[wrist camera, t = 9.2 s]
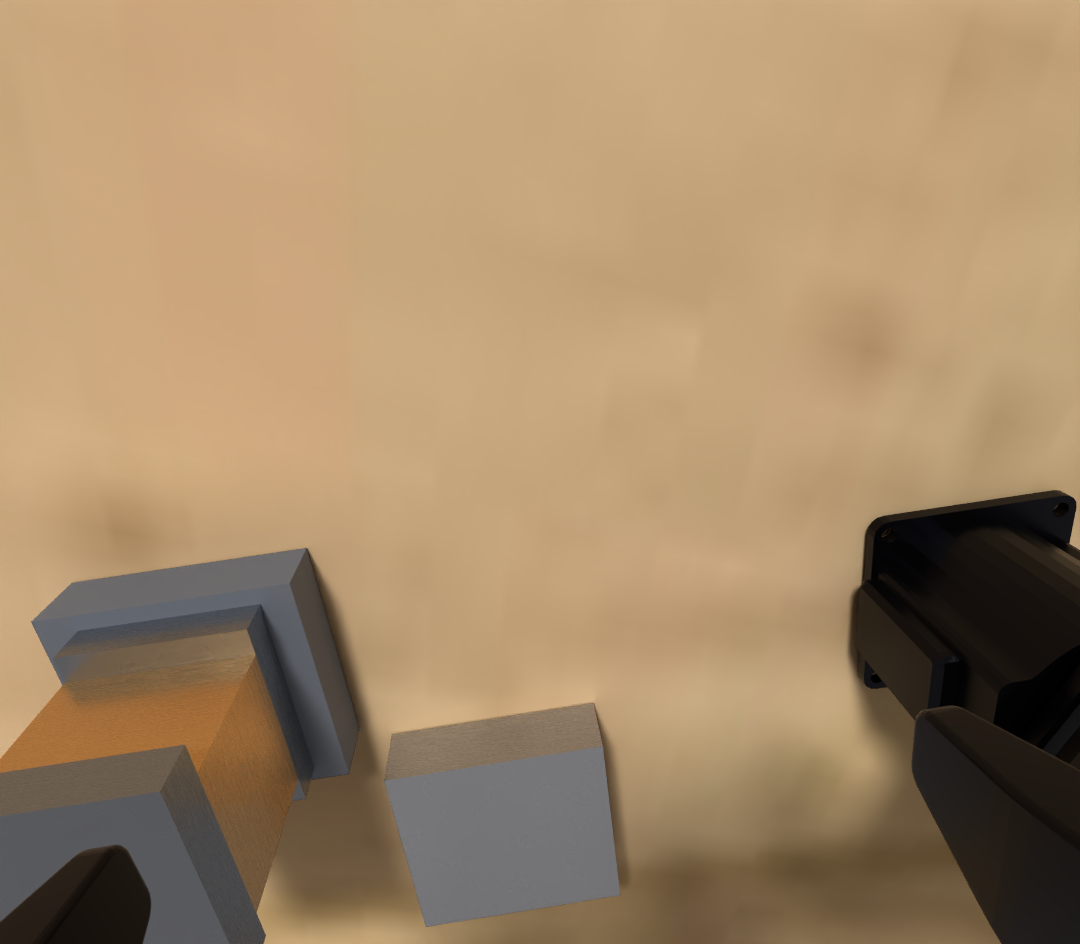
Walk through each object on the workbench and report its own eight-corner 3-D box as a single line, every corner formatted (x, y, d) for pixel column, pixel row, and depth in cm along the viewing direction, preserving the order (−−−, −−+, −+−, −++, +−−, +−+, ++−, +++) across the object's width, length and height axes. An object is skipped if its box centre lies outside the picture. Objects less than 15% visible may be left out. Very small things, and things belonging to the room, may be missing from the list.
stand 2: (593, 703, 24) (602, 746, 22) (610, 845, 26) (620, 894, 24) (391, 734, 23) (383, 780, 22) (429, 875, 26) (425, 926, 24)
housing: (314, 766, 21) (250, 989, 15) (152, 792, 21) (23, 1026, 15) (260, 604, 19) (160, 792, 13) (77, 630, 19) (-108, 832, 13)
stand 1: (306, 547, 21) (289, 583, 19) (359, 728, 23) (348, 774, 21) (72, 582, 20) (31, 621, 19) (152, 759, 23) (124, 809, 21)
